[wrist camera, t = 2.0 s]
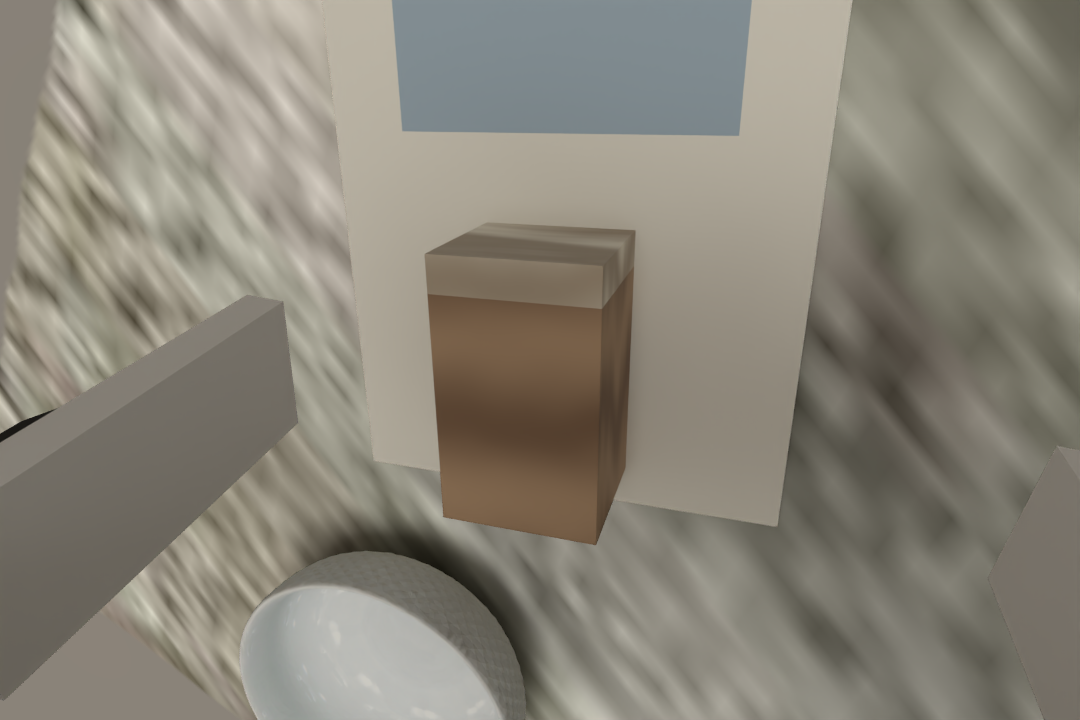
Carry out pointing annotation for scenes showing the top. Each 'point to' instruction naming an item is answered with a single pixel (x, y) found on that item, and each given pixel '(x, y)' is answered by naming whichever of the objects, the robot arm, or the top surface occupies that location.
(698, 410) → the mat
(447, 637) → the cereal bowl
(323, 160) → the top surface
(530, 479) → the block
